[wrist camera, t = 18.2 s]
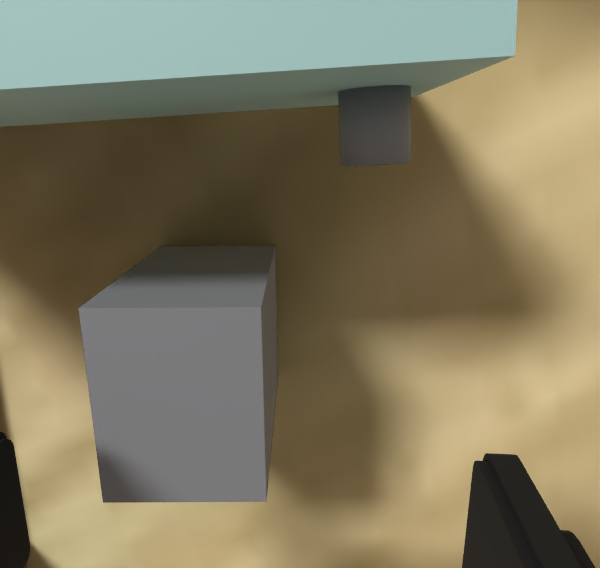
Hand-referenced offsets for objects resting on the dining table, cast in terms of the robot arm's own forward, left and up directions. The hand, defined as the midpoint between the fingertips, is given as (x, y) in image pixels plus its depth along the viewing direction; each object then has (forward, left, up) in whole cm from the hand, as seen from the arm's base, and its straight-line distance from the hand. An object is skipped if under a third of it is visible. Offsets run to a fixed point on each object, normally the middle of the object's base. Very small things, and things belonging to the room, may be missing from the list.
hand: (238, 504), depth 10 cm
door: (+2, -8, -8) cm, 11 cm away
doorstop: (+2, -1, -9) cm, 9 cm away
